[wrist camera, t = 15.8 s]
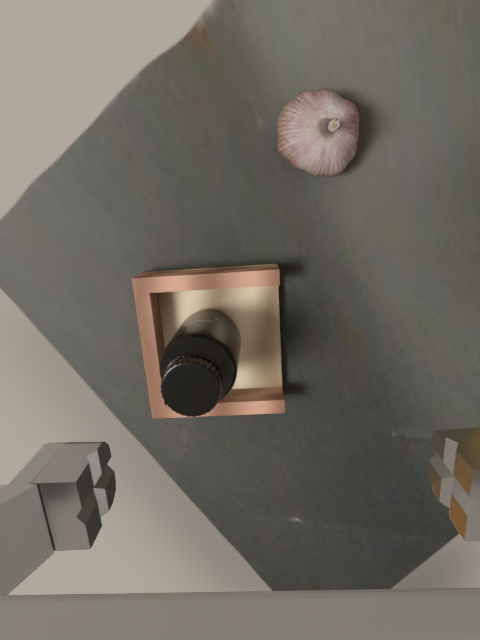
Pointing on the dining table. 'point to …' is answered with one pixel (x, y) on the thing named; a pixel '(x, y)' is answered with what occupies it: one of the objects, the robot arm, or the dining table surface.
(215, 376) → the supplement bottle
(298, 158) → the garlic bulb
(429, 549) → the dining table surface
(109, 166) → the dining table surface
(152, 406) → the open-sided tray
